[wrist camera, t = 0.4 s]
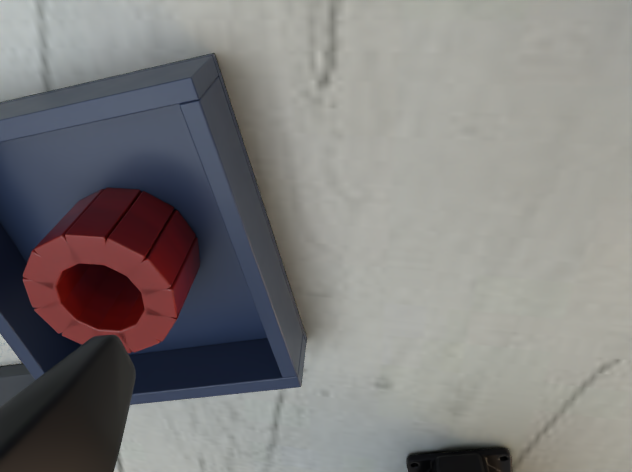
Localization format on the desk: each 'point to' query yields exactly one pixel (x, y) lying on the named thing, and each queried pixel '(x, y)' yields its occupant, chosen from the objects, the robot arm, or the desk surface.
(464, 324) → the desk surface
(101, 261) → the ring
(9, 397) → the ring stand
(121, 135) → the box
